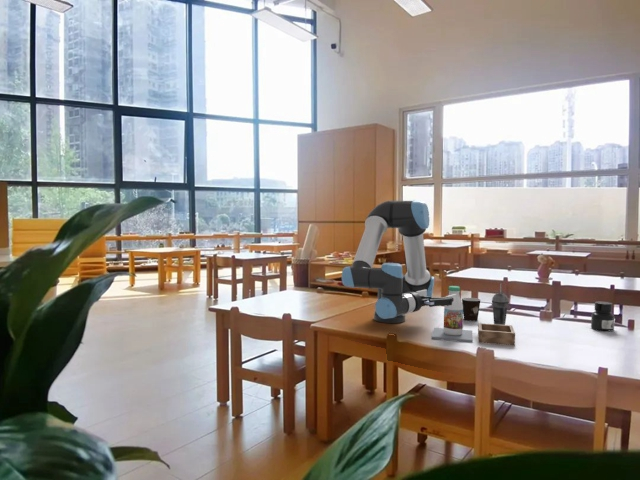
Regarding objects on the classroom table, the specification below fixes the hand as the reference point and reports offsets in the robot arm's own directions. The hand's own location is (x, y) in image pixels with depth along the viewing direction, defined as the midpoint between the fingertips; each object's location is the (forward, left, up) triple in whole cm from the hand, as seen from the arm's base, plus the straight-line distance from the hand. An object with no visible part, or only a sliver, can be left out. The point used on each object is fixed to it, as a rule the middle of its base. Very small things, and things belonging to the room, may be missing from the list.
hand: (440, 295), depth 190 cm
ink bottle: (+69, +43, -19) cm, 83 cm away
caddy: (+22, +8, -19) cm, 30 cm away
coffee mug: (+11, +43, -19) cm, 48 cm away
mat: (+5, +9, -19) cm, 21 cm away
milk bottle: (+5, +9, -18) cm, 20 cm away
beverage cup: (+25, +33, -19) cm, 45 cm away
